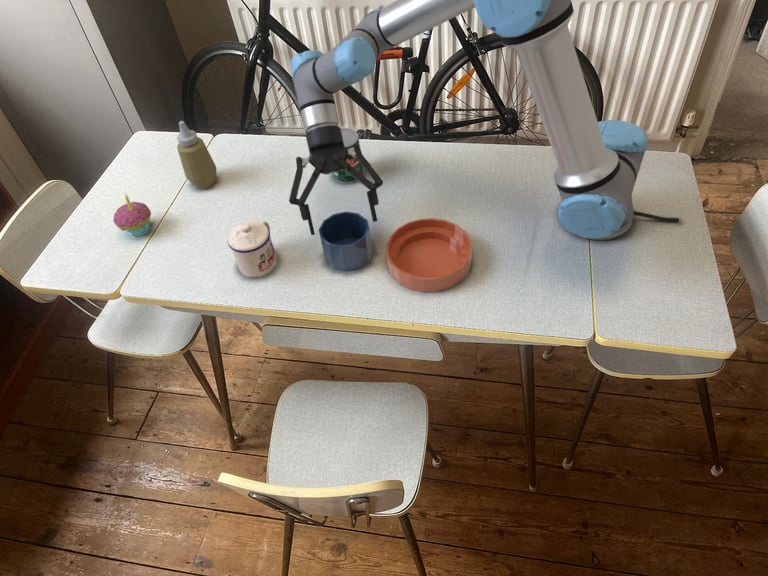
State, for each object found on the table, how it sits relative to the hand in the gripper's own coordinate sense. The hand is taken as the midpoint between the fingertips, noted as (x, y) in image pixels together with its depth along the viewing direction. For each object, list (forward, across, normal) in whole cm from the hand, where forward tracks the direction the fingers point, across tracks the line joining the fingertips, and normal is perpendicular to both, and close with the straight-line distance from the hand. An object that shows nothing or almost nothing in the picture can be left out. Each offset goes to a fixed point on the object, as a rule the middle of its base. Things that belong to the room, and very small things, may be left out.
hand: (344, 228), depth 123 cm
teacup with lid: (+3, +20, -8) cm, 21 cm away
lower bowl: (+11, -16, 0) cm, 20 cm away
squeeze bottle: (-20, +32, -32) cm, 49 cm away
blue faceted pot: (+6, 0, -5) cm, 8 cm away
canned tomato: (-14, -5, -26) cm, 30 cm away
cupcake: (-11, +48, -22) cm, 54 cm away
